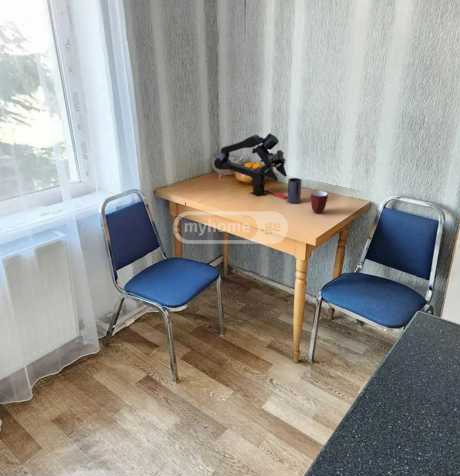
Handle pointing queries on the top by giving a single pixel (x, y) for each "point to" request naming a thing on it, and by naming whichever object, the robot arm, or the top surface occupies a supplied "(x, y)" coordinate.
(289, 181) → the grey cylindrical cup
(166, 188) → the top surface
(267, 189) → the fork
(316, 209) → the mug
